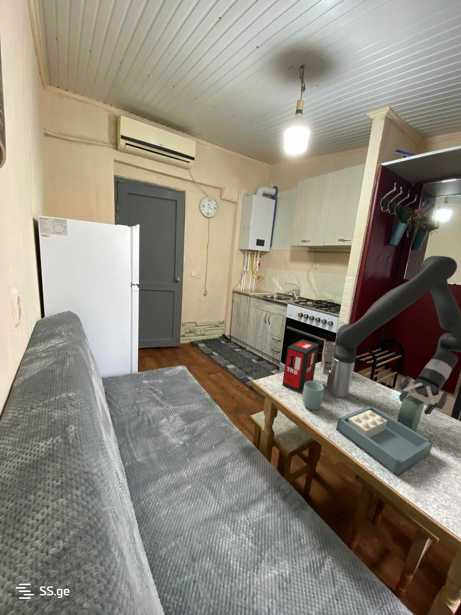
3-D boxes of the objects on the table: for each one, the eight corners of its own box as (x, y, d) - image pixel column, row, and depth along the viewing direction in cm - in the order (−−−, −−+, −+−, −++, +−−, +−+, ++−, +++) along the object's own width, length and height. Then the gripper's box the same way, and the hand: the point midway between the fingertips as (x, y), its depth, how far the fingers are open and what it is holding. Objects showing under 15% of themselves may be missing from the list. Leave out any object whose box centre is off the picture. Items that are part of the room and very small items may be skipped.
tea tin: (395, 427, 99) (403, 398, 96) (402, 424, 101) (410, 395, 98) (409, 436, 94) (417, 405, 91) (416, 432, 97) (424, 402, 94)
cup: (311, 414, 103) (315, 392, 100) (297, 404, 109) (300, 383, 107) (324, 409, 107) (328, 388, 104) (309, 399, 113) (313, 379, 111)
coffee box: (334, 375, 138) (339, 347, 134) (322, 373, 139) (327, 345, 135) (331, 368, 146) (336, 341, 143) (320, 366, 148) (324, 340, 144)
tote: (335, 429, 95) (338, 418, 94) (368, 416, 104) (370, 405, 103) (396, 476, 76) (400, 463, 75) (429, 454, 86) (433, 442, 85)
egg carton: (346, 427, 95) (349, 415, 94) (367, 418, 101) (370, 407, 100) (363, 440, 89) (366, 427, 88) (384, 430, 95) (388, 417, 94)
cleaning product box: (299, 393, 118) (305, 353, 113) (282, 385, 123) (287, 347, 118) (312, 380, 130) (319, 344, 126) (296, 374, 136) (302, 339, 131)
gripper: (413, 361, 103) (391, 392, 100) (456, 377, 91) (432, 413, 88) (416, 370, 107) (395, 401, 104) (458, 387, 95) (436, 422, 92)
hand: (412, 406), depth 96 cm, fingers open, 8 cm apart
